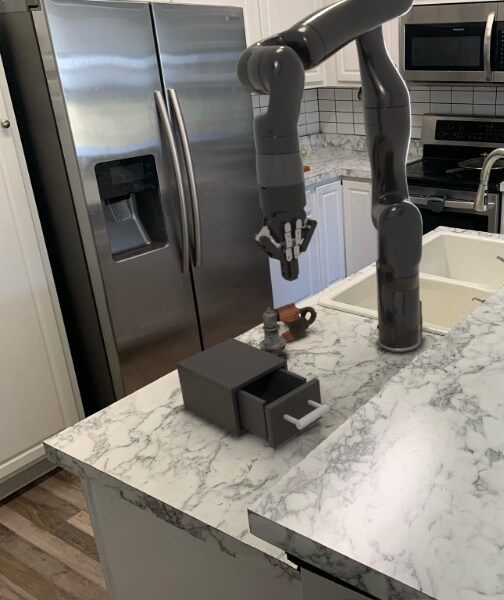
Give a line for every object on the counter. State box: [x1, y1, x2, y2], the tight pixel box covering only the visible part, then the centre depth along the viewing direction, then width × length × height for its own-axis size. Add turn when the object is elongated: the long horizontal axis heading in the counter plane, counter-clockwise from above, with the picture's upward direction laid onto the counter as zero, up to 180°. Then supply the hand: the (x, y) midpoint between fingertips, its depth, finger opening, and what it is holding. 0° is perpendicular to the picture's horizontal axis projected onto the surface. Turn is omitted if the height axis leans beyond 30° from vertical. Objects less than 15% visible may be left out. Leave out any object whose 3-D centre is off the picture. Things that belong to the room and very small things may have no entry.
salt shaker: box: [258, 306, 288, 360], centre depth 130 cm, size 6×6×12 cm
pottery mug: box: [271, 302, 318, 343], centre depth 143 cm, size 12×10×8 cm
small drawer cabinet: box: [176, 337, 289, 438], centre depth 113 cm, size 16×13×10 cm
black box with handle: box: [235, 367, 331, 450], centre depth 106 cm, size 19×11×8 cm, turn 53°
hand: (290, 279), depth 105 cm, fingers closed
